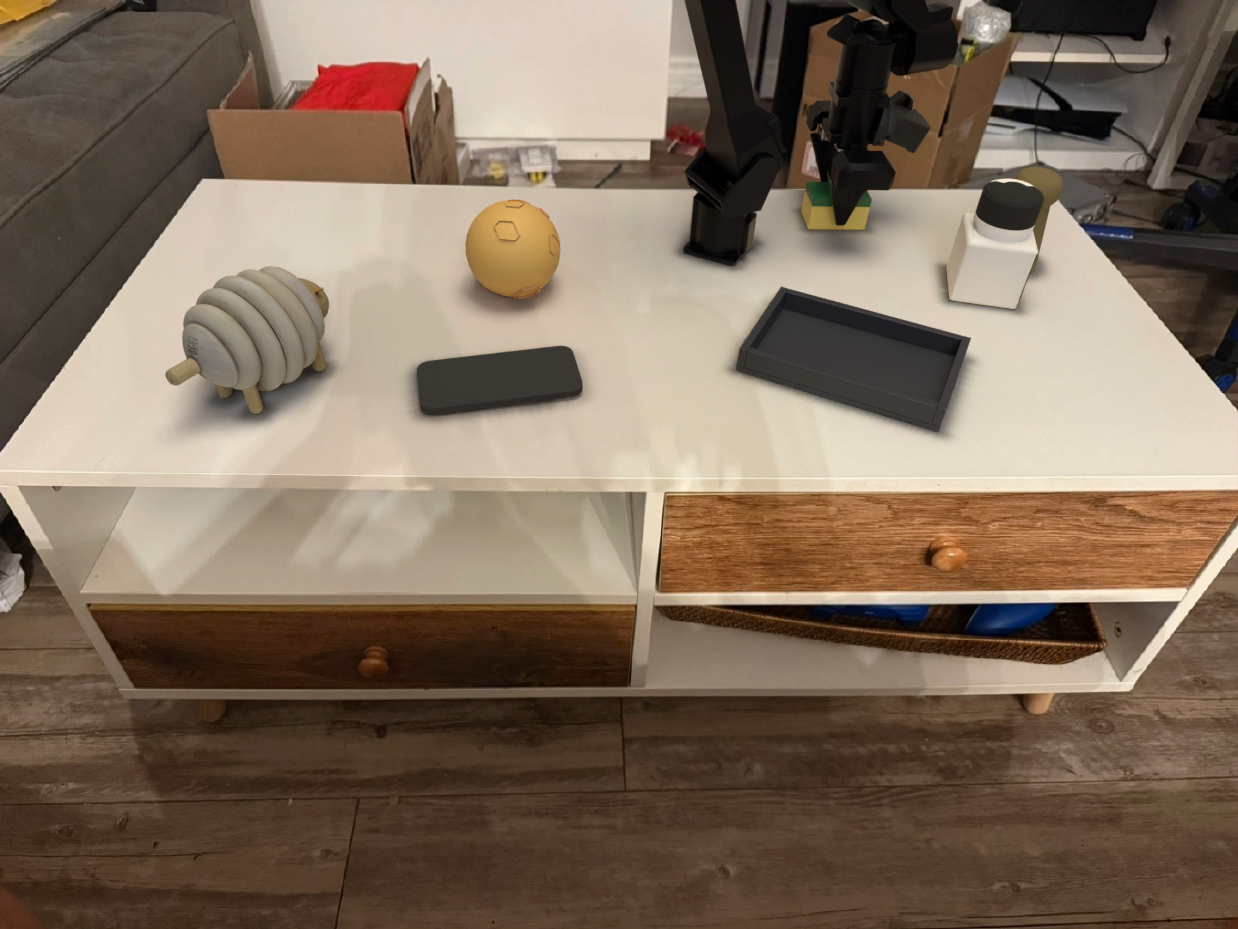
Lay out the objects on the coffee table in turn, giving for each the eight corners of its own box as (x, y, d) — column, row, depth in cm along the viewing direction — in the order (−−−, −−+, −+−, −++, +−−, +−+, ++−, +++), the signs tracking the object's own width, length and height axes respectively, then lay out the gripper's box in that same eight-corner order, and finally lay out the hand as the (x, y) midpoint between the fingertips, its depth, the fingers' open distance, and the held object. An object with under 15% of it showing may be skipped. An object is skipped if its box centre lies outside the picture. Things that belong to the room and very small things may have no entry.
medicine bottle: (1016, 310, 96) (1057, 207, 87) (948, 301, 97) (982, 198, 88) (1009, 276, 101) (1047, 176, 92) (945, 268, 102) (977, 167, 93)
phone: (415, 361, 85) (570, 343, 87) (417, 368, 85) (570, 350, 88) (420, 410, 79) (585, 389, 82) (421, 417, 80) (585, 396, 83)
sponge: (807, 229, 107) (813, 198, 105) (800, 211, 111) (806, 181, 108) (864, 229, 108) (872, 199, 105) (856, 212, 111) (863, 181, 108)
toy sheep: (372, 356, 87) (352, 254, 79) (242, 457, 76) (204, 351, 68) (290, 324, 90) (263, 224, 82) (155, 417, 79) (109, 312, 71)
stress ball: (474, 319, 92) (465, 231, 85) (466, 270, 99) (457, 185, 92) (569, 310, 93) (568, 223, 86) (554, 262, 100) (552, 178, 93)
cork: (1013, 245, 106) (1046, 156, 98) (1047, 271, 102) (1084, 180, 94) (971, 253, 104) (1001, 163, 97) (1003, 279, 100) (1037, 187, 93)
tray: (735, 370, 86) (739, 348, 85) (777, 307, 95) (781, 286, 93) (938, 432, 80) (946, 410, 79) (963, 359, 89) (971, 337, 87)
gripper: (960, 115, 91) (920, 250, 102) (910, 52, 105) (880, 177, 116) (853, 113, 91) (824, 250, 101) (817, 50, 104) (795, 177, 115)
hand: (834, 211), depth 108 cm, fingers open, 6 cm apart
